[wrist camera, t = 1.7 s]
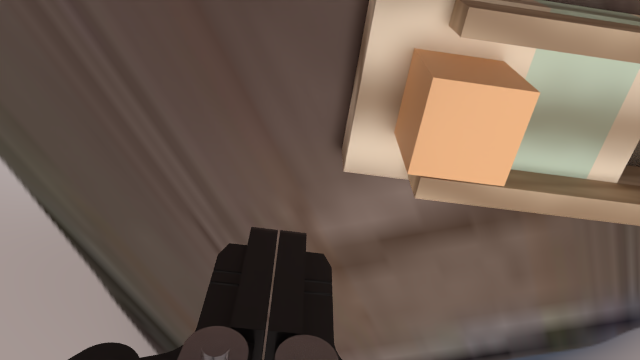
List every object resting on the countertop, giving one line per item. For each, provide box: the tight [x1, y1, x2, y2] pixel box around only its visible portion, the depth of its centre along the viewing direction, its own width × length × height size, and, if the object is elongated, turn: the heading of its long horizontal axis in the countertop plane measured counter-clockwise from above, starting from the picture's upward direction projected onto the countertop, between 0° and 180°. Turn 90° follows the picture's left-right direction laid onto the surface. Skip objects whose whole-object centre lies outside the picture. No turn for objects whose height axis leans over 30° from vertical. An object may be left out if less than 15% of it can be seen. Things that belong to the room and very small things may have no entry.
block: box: [394, 48, 540, 186], centre depth 25 cm, size 5×5×5 cm
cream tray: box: [342, 0, 640, 226], centre depth 28 cm, size 11×23×6 cm, turn 82°
